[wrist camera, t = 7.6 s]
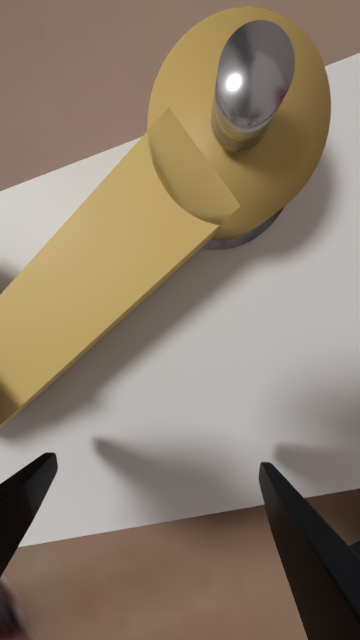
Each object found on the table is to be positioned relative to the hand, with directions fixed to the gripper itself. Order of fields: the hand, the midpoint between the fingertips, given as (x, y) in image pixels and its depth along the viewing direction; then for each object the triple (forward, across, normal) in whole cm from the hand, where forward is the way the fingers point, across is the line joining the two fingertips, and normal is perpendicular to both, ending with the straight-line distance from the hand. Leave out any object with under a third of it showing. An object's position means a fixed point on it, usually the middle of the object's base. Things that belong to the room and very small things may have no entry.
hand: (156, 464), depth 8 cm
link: (+1, +2, -8) cm, 8 cm away
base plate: (+2, +1, -3) cm, 4 cm away
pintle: (+2, -2, -12) cm, 12 cm away
